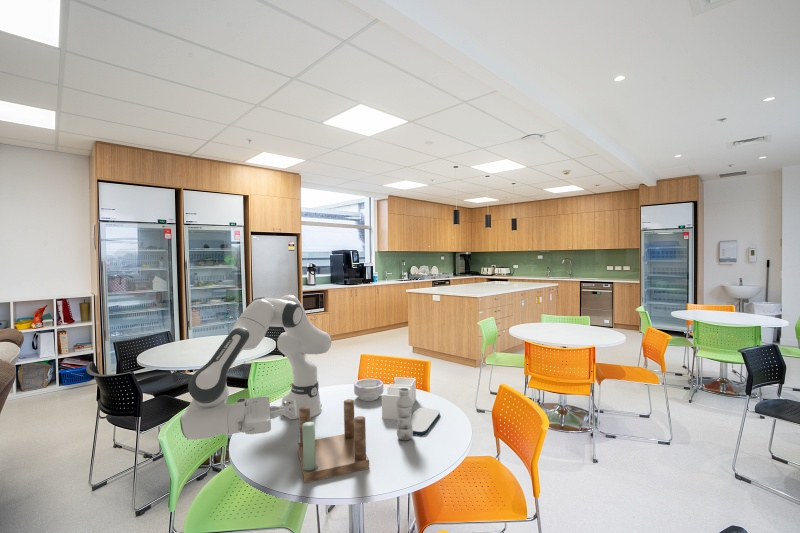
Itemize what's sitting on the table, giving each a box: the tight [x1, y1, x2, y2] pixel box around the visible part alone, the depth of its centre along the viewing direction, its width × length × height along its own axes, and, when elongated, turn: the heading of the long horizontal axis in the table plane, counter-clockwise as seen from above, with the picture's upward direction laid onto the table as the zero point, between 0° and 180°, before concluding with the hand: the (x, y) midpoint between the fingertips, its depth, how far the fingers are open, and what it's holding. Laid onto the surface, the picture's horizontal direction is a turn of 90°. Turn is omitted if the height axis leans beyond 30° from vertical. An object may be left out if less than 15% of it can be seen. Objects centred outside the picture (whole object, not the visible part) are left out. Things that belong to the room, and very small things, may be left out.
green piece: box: [302, 421, 316, 470], centre depth 130 cm, size 12×4×14 cm, turn 17°
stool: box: [297, 398, 370, 483], centre depth 137 cm, size 22×22×17 cm
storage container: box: [381, 376, 417, 420], centre depth 182 cm, size 25×11×11 cm, turn 167°
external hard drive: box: [411, 407, 441, 436], centre depth 166 cm, size 24×12×2 cm, turn 157°
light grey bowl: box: [353, 378, 384, 402], centre depth 196 cm, size 15×15×8 cm
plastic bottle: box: [396, 388, 414, 441], centre depth 152 cm, size 6×7×20 cm
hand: (285, 410), depth 123 cm, fingers closed
